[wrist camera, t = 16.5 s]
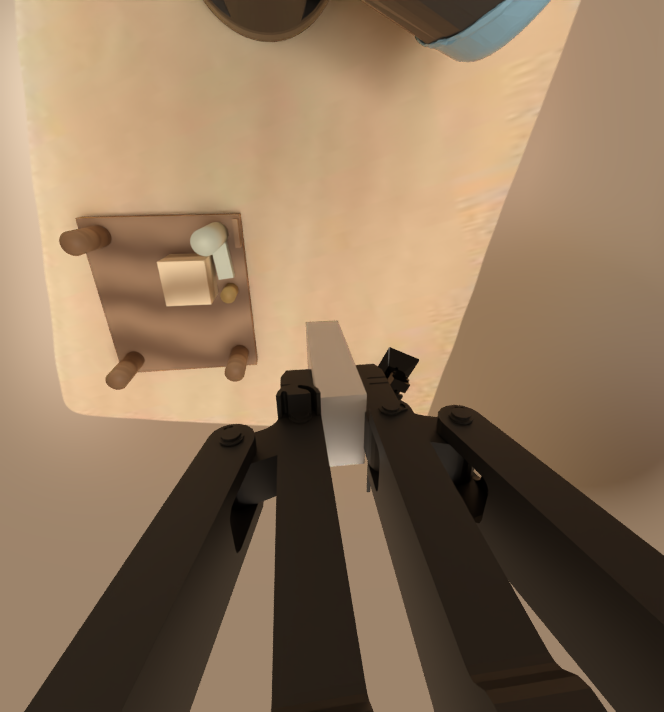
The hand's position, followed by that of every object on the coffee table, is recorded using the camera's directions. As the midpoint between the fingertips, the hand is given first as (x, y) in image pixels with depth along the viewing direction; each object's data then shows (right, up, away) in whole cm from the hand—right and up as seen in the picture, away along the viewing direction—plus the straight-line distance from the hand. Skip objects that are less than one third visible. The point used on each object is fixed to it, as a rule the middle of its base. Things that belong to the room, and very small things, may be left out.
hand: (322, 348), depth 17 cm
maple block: (-17, +10, +27) cm, 34 cm away
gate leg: (-13, +13, +27) cm, 32 cm away
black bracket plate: (+9, -4, +40) cm, 41 cm away
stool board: (-20, +7, +30) cm, 37 cm away
